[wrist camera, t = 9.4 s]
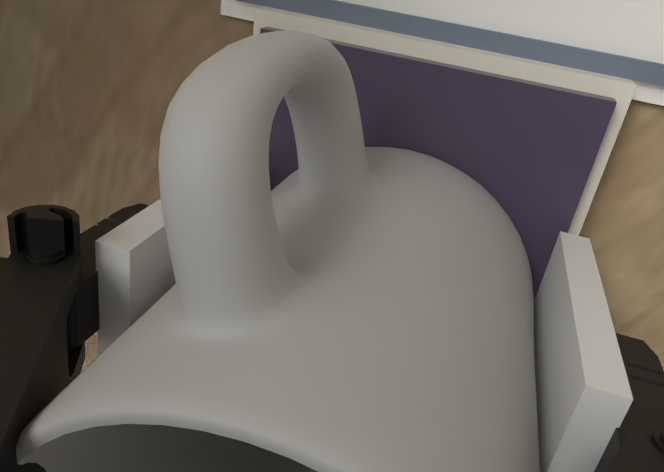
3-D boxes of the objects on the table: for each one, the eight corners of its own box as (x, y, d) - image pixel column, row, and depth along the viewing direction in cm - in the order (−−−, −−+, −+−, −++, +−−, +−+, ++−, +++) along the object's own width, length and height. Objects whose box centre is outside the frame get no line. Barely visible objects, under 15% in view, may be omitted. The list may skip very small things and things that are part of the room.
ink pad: (242, 293, 22) (222, 317, 20) (271, 5, 17) (247, 9, 16) (516, 374, 20) (516, 406, 18) (628, 77, 15) (640, 89, 14)
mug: (534, 402, 18) (557, 895, 9) (278, 387, 21) (75, 751, 11) (527, -18, 14) (556, 26, 4) (201, 31, 16) (-253, 126, 7)
